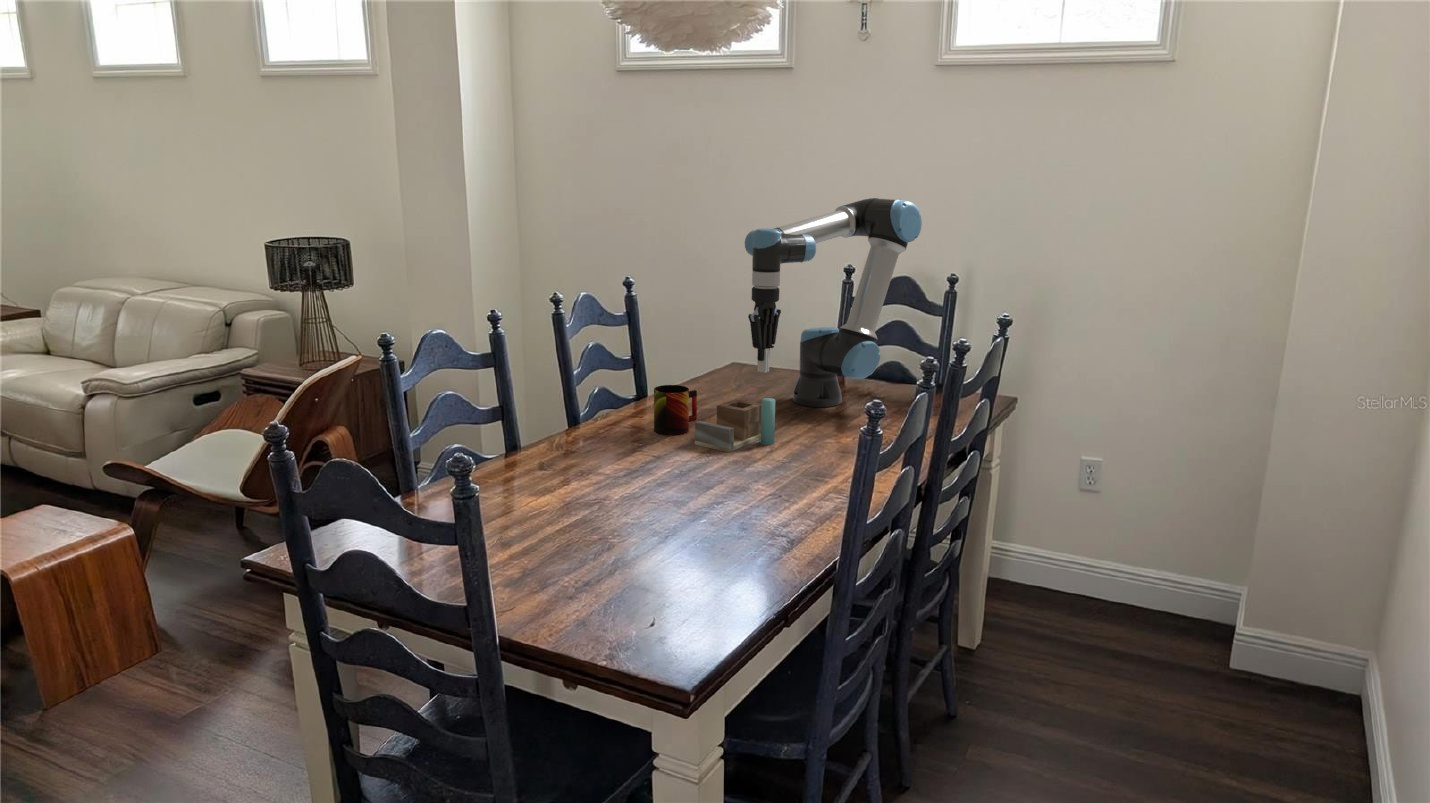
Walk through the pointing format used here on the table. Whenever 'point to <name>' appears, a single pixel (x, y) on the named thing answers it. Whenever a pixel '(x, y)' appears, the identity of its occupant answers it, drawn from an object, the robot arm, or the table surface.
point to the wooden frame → (719, 437)
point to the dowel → (767, 421)
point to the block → (740, 418)
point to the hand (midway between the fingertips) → (763, 371)
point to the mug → (673, 409)
